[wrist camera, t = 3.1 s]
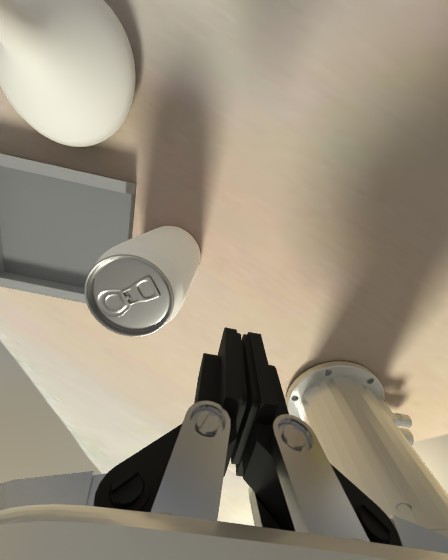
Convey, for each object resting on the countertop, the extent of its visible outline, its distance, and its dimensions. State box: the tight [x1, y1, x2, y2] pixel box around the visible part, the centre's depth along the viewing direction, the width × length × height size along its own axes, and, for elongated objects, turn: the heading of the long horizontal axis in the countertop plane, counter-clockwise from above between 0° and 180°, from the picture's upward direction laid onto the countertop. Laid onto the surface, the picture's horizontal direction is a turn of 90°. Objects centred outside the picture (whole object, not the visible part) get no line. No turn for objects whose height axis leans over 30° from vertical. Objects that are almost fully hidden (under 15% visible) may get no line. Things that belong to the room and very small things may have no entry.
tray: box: [0, 153, 136, 303], centre depth 24 cm, size 14×13×4 cm
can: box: [84, 226, 200, 337], centre depth 21 cm, size 6×6×12 cm
